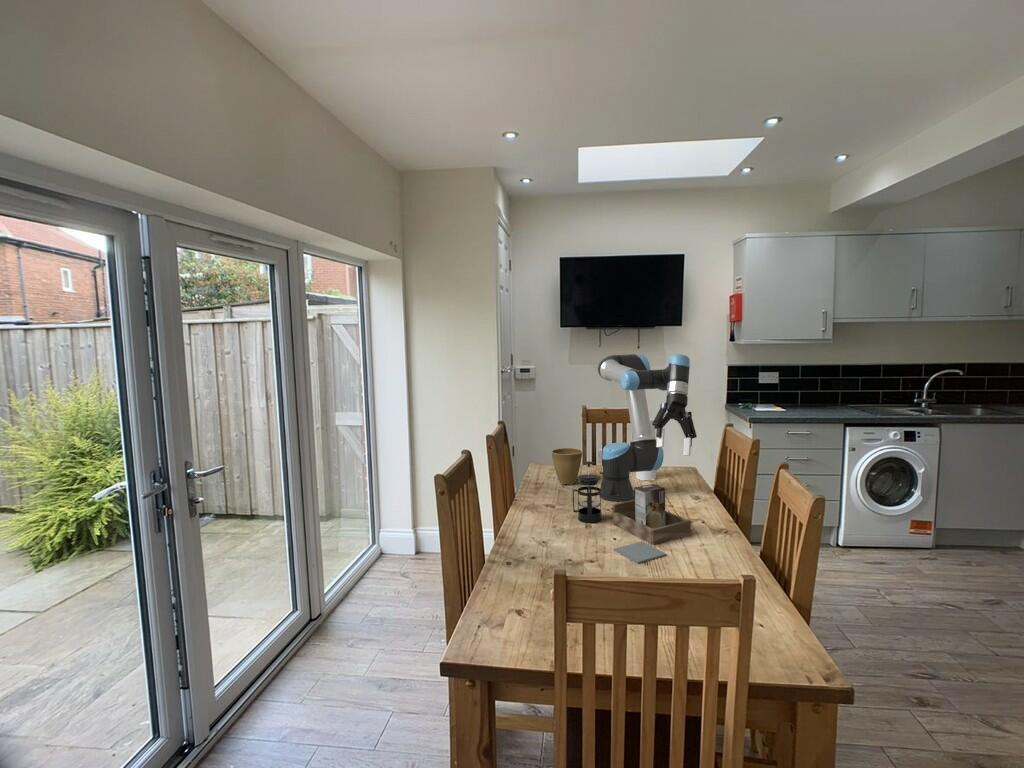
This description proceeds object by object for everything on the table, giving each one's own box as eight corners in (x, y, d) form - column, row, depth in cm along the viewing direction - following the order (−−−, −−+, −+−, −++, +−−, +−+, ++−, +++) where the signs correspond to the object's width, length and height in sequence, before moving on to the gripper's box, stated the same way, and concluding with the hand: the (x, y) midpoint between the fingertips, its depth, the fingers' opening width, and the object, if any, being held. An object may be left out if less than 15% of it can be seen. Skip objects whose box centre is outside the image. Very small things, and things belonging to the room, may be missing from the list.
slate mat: (613, 550, 179) (613, 548, 179) (641, 543, 184) (641, 541, 184) (637, 563, 168) (637, 561, 168) (666, 555, 174) (666, 553, 173)
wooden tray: (612, 524, 202) (612, 504, 201) (648, 516, 210) (647, 496, 209) (653, 544, 182) (653, 522, 182) (690, 534, 190) (690, 512, 189)
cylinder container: (656, 480, 257) (655, 419, 254) (636, 480, 259) (635, 419, 256) (655, 475, 267) (654, 416, 264) (635, 475, 269) (635, 416, 266)
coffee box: (654, 524, 201) (654, 483, 199) (666, 530, 195) (665, 487, 193) (635, 528, 197) (634, 486, 196) (645, 534, 191) (645, 491, 190)
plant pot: (584, 487, 251) (584, 454, 250) (553, 488, 252) (552, 455, 250) (581, 478, 266) (580, 447, 265) (551, 479, 266) (550, 448, 265)
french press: (603, 515, 213) (602, 459, 211) (604, 523, 204) (602, 465, 201) (573, 514, 214) (572, 459, 212) (573, 523, 205) (571, 465, 203)
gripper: (660, 383, 188) (656, 442, 181) (708, 402, 199) (705, 458, 193) (645, 387, 194) (640, 444, 188) (692, 405, 205) (689, 459, 199)
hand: (673, 451), depth 190 cm, fingers open, 13 cm apart
